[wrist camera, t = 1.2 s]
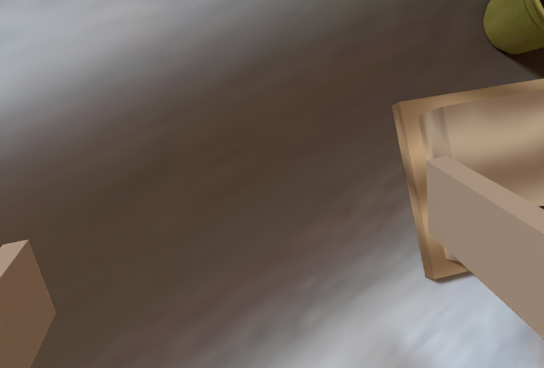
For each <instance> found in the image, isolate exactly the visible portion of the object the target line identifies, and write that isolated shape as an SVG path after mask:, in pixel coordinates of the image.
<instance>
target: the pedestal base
mask: <svg viewBox="0 0 544 368" xmlns="http://www.w3.org/2000/svg"><path fill="white" fill-rule="evenodd" d="M392 110H393V115H394V120H395V125H396V130H397V135H398V140H399V145H400V150H401V156H402V161H403V166H404V171H405V176H406V181H407V186H408V191H409V196H410V201H411V206H412V211H413V216H414V221H415V226H416V231H417V236H418V241H419V246H420V251H421V256H422V261H423V266H424V271H425V276H426V277H427V278H430V279H434V280H435V279H439V278H443V277H447V276H451V275H455V274H459V273H462V272H466V271H470V270H468V269H467V268H466V267H465V266H464V265H463V264H462V263H461V262H460V261H459V260H458V259H457V258H456V257H454V256H453V255H452V254H451V253H450V252H449V251H448V250H447V249H446V248H445V247H444V246H443V245H441V244H440V243H439V242H438V241H437V240H436V239H435V238H434V237H433V236H432V235H431V234H430V233H429V230H428V202H427V174H426V160H430V159H435V158H440V157H445V156H448V157H450V158H452V159H454V160H455V161H457V162H459V163H461V164H463V165H464V166H466V167H468V168H470V169H472V170H473V171H475V172H477V173H479V174H481V175H482V176H484V177H486V178H488V179H490V180H491V181H493V182H495V183H497V184H499V185H500V186H502V187H504V188H506V189H508V190H509V191H511V192H513V193H515V194H517V195H518V196H520V197H522V198H524V199H526V200H527V201H529V202H531V203H533V204H535V205H536V206H544V79H538V80H532V81H526V82H520V83H514V84H508V85H501V86H495V87H489V88H483V89H477V90H471V91H464V92H458V93H452V94H446V95H440V96H434V97H428V98H421V99H415V100H409V101H403V102H398V103H396V104H394V105H392Z"/></svg>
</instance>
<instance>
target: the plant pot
mask: <svg viewBox="0 0 544 368" xmlns="http://www.w3.org/2000/svg"><path fill="white" fill-rule="evenodd" d="M483 25H484V30H485V33H486V35H487V37H488V39H489V41H490V42H491V43H492V44H493V45H494V46H495V47H496V48H498V49H501V50H503V51H505V52H507V53H509V54H520V53H524V52H527V51H531V50H535V49H538V48H542V47H544V0H491V1H490V2H489V3H488V5H487V9H486V12H485V15H484V18H483Z"/></svg>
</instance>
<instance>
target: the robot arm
mask: <svg viewBox="0 0 544 368" xmlns="http://www.w3.org/2000/svg"><path fill="white" fill-rule="evenodd" d="M426 174H427V202H428V230H429V233H430V234H431V235H432V236H433V237H434V238H435V239H436V240H437V241H438V242H439V243H440V244H441V245H443V246H444V247H445V248H446V249H447V250H448V251H449V252H450V253H451V254H452V255H453V256H454V257H456V258H457V259H458V260H459V261H460V262H461V263H462V264H463V265H464V266H465V267H466V268H467V269H468V270H470V271H471V272H472V273H473V274H474V275H475V276H476V277H477V278H478V279H479V280H480V281H481V282H483V283H484V284H485V285H486V286H487V287H488V288H489V289H490V290H491V291H492V292H493V293H494V294H495V295H497V296H498V297H499V298H500V299H501V300H502V301H503V302H504V303H505V304H506V305H507V306H508V307H510V308H511V309H512V310H513V311H514V312H515V313H516V314H517V315H518V316H519V317H520V318H521V319H523V320H524V321H525V322H526V323H527V324H528V325H529V326H530V327H531V328H532V329H533V330H534V331H535V332H537V333H538V334H539V335H540V336H541V337H542V338H543V339H544V206H536V205H535V204H533V203H531V202H529V201H527V200H526V199H524V198H522V197H520V196H518V195H517V194H515V193H513V192H511V191H509V190H508V189H506V188H504V187H502V186H500V185H499V184H497V183H495V182H493V181H491V180H490V179H488V178H486V177H484V176H482V175H481V174H479V173H477V172H475V171H473V170H472V169H470V168H468V167H466V166H464V165H463V164H461V163H459V162H457V161H455V160H454V159H452V158H450V157H448V156H445V157H440V158H435V159H430V160H426ZM55 313H56V312H55V310H54V307H53V304H52V302H51V299H50V296H49V294H48V291H47V289H46V286H45V283H44V281H43V278H42V275H41V273H40V270H39V267H38V265H37V262H36V259H35V257H34V254H33V251H32V249H31V246H30V243H29V241H28V240H25V241H20V242H15V243H10V244H5V245H2V246H1V248H0V368H30V367H31V365H32V363H33V361H34V358H35V356H36V354H37V352H38V350H39V348H40V346H41V343H42V341H43V339H44V337H45V335H46V333H47V330H48V328H49V326H50V324H51V322H52V320H53V317H54V315H55Z"/></svg>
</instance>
